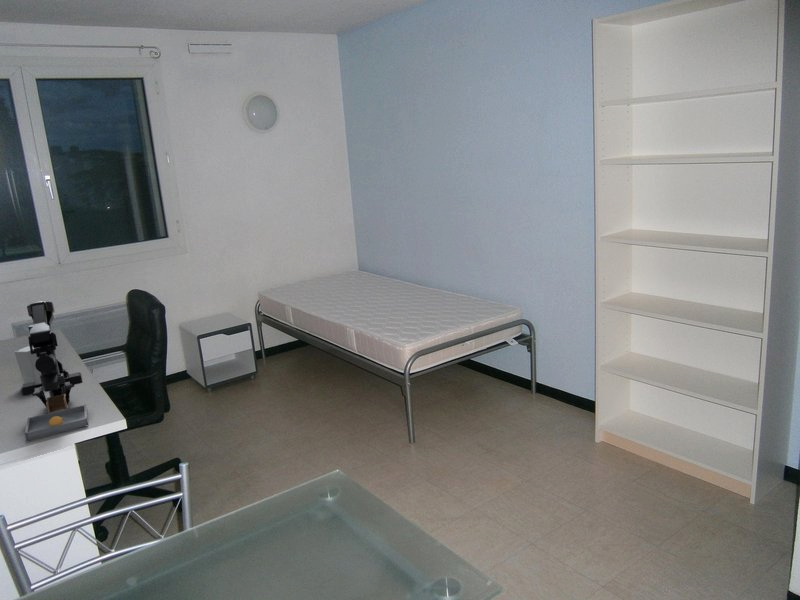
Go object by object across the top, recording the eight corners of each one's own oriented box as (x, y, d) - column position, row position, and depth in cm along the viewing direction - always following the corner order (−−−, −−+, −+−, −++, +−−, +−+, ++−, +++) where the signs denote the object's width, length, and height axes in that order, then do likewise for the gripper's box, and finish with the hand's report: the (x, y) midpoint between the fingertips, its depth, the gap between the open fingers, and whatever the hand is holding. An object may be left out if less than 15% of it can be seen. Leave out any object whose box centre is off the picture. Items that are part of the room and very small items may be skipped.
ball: (51, 431, 203) (49, 421, 205) (64, 428, 205) (62, 417, 206) (49, 427, 200) (47, 416, 201) (63, 423, 202) (60, 412, 203)
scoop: (49, 409, 220) (46, 397, 219) (68, 405, 223) (65, 393, 222) (48, 416, 214) (46, 404, 213) (68, 411, 217) (65, 399, 216)
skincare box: (51, 382, 255) (43, 345, 251) (35, 388, 248) (26, 351, 245) (38, 380, 258) (29, 344, 255) (22, 387, 252) (13, 350, 248)
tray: (29, 424, 211) (27, 418, 210) (87, 411, 218) (86, 404, 218) (26, 440, 197) (24, 433, 197) (88, 425, 205) (86, 418, 205)
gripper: (15, 377, 204) (26, 420, 208) (77, 364, 212) (87, 406, 216) (18, 368, 214) (28, 410, 217) (77, 356, 222) (86, 397, 225)
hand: (57, 406), depth 219 cm, fingers closed on scoop, 6 cm apart
